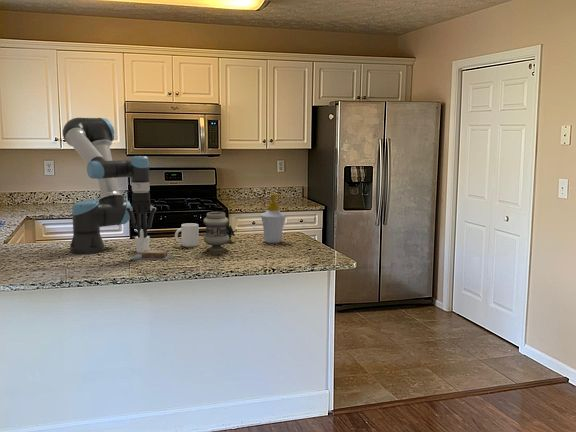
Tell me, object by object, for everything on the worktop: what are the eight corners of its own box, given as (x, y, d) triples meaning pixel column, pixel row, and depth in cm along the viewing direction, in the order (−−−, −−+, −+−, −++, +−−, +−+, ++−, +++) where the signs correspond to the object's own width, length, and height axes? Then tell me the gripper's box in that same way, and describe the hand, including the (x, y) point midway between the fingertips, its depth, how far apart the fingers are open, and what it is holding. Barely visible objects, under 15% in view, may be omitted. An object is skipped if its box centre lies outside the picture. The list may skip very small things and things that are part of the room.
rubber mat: (130, 259, 248) (130, 258, 248) (136, 254, 257) (136, 253, 257) (167, 260, 248) (167, 259, 248) (172, 254, 258) (172, 254, 257)
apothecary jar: (198, 250, 267) (197, 212, 264) (218, 246, 276) (217, 210, 273) (215, 254, 259) (214, 215, 256) (234, 250, 268) (234, 212, 265)
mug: (178, 248, 272) (177, 227, 270) (171, 245, 279) (171, 224, 277) (201, 245, 278) (201, 225, 276) (194, 243, 285) (194, 222, 283)
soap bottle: (285, 244, 283) (285, 195, 279) (259, 244, 283) (259, 195, 279) (285, 239, 296) (286, 192, 292) (261, 239, 296) (261, 192, 292)
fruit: (210, 246, 291) (237, 238, 295) (213, 247, 281) (241, 238, 285) (204, 227, 290) (231, 219, 295) (207, 227, 280) (235, 218, 285)
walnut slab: (141, 252, 249) (164, 253, 249) (144, 250, 255) (167, 250, 255) (141, 257, 249) (164, 258, 249) (145, 254, 255) (167, 255, 255)
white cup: (153, 250, 266) (152, 235, 265) (145, 253, 260) (144, 238, 259) (140, 249, 269) (140, 234, 268) (132, 252, 262) (131, 237, 261)
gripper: (123, 192, 244) (125, 246, 248) (153, 192, 244) (155, 246, 248) (128, 190, 252) (130, 243, 255) (157, 191, 252) (159, 243, 255)
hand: (142, 244), depth 251 cm, fingers closed
